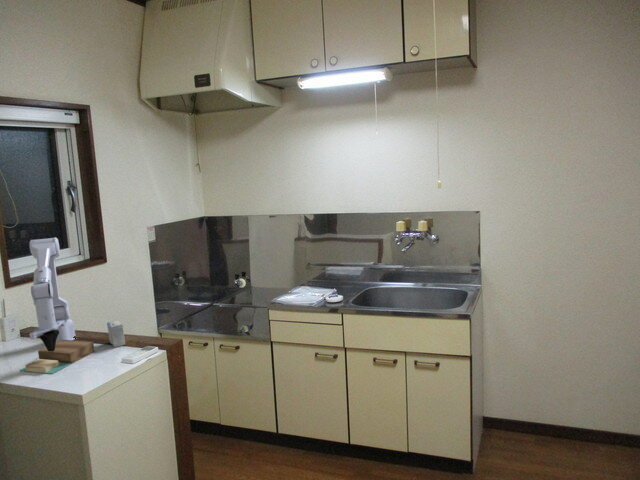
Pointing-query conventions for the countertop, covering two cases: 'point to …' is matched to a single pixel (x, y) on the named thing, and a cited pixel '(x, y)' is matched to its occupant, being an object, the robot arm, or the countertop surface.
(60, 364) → the mat
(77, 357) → the block
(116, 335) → the medicine box
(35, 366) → the cream rectangular block
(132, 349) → the countertop surface
